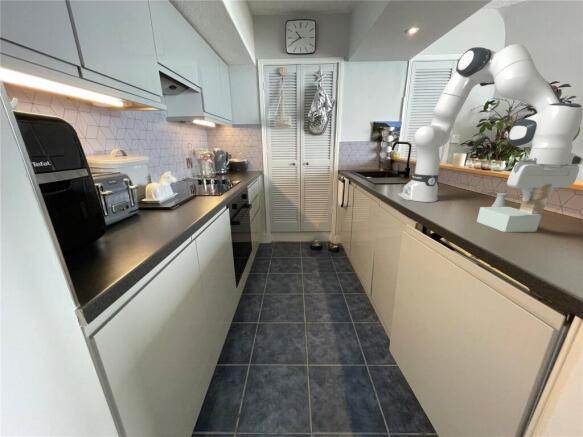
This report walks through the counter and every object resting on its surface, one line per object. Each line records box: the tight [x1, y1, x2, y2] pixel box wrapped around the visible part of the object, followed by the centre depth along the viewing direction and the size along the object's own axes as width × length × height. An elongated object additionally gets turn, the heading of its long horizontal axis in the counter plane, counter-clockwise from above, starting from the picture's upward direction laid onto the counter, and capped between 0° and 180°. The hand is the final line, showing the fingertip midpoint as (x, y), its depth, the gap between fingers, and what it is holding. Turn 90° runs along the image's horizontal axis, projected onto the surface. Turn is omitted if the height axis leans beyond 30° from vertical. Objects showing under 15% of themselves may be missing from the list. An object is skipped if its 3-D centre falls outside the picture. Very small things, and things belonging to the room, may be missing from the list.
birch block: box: [519, 184, 552, 215], centre depth 78 cm, size 4×4×10 cm
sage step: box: [476, 206, 543, 233], centre depth 88 cm, size 12×12×6 cm
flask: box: [490, 192, 508, 207], centre depth 100 cm, size 7×7×10 cm
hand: (534, 200), depth 79 cm, fingers closed on birch block, 4 cm apart
